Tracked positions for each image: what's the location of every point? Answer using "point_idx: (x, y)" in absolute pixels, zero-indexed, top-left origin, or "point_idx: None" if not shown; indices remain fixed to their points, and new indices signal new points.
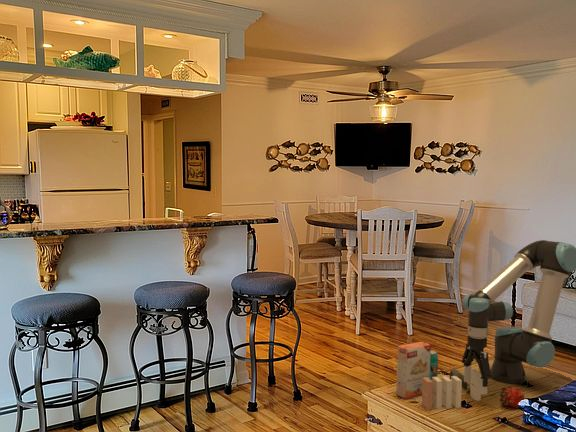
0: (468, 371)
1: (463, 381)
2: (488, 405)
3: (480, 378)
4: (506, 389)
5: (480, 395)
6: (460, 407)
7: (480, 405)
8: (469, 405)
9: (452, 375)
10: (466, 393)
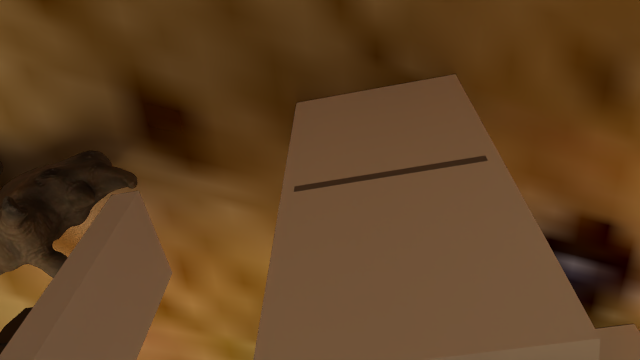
0: (88, 353)
1: (59, 233)
2: (632, 23)
3: (554, 272)
4: None
5: (469, 103)
6: (634, 329)
7: (612, 124)
8: (590, 237)
9: None
10: (237, 177)
